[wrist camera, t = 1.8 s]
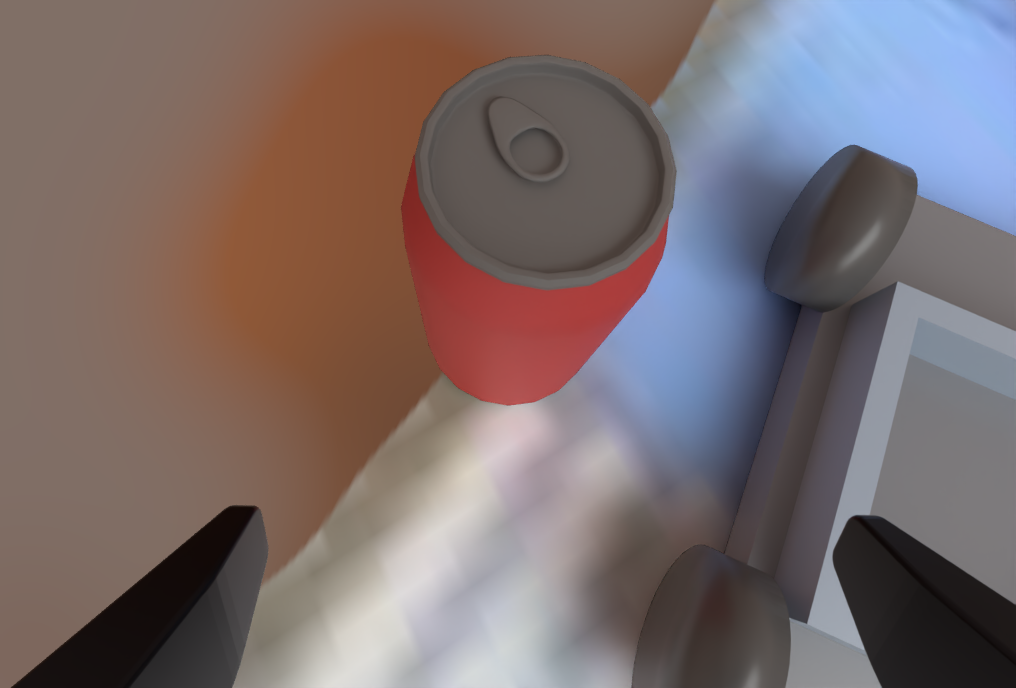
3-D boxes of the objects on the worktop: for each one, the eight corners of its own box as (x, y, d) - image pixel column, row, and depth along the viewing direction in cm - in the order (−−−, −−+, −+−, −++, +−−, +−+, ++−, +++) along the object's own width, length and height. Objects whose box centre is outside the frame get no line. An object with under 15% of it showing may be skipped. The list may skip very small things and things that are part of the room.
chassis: (1106, 974, 19) (1382, 1176, 13) (605, 735, 20) (662, 829, 14) (1175, 340, 26) (1381, 293, 20) (794, 179, 26) (885, 89, 21)
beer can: (526, 226, 25) (578, -12, 13) (620, 349, 24) (764, 203, 12) (395, 306, 24) (328, 118, 12) (487, 441, 22) (509, 374, 11)
